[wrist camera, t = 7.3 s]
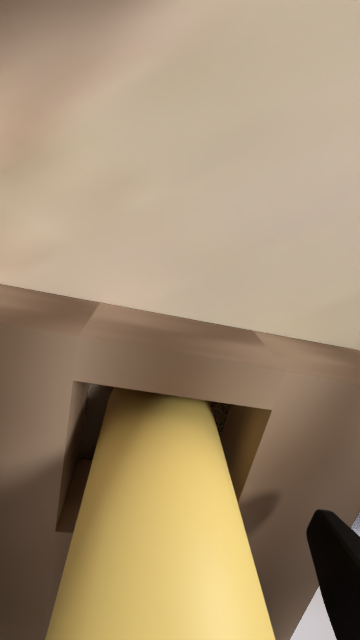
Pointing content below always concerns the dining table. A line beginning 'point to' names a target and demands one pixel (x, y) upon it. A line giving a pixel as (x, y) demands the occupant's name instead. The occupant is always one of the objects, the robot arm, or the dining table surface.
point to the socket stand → (178, 380)
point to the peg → (159, 533)
